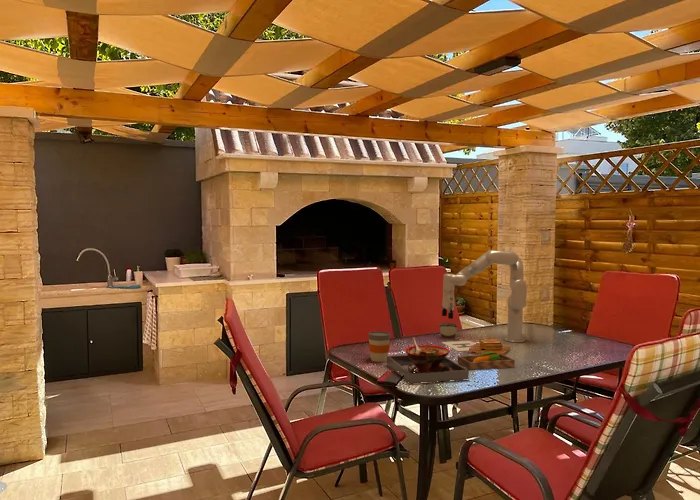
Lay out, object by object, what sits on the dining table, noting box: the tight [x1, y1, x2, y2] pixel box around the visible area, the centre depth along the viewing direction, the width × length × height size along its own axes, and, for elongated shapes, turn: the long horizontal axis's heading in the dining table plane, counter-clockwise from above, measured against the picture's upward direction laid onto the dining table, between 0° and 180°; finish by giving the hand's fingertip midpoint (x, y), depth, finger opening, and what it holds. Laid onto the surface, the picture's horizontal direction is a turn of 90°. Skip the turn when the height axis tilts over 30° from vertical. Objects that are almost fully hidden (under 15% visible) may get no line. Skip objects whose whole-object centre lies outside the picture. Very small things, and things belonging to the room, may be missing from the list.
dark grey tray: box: [386, 354, 470, 384], centre depth 280 cm, size 31×35×5 cm
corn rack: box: [457, 353, 516, 371], centre depth 296 cm, size 27×14×4 cm, turn 105°
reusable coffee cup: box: [367, 330, 391, 363], centre depth 305 cm, size 13×13×15 cm
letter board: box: [441, 340, 476, 353], centre depth 341 cm, size 20×24×1 cm
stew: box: [404, 336, 452, 373], centre depth 282 cm, size 28×24×16 cm
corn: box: [473, 350, 500, 362], centre depth 295 cm, size 7×8×20 cm
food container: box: [438, 322, 458, 340], centre depth 364 cm, size 12×6×10 cm, turn 84°
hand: (447, 317), depth 363 cm, fingers open, 9 cm apart
